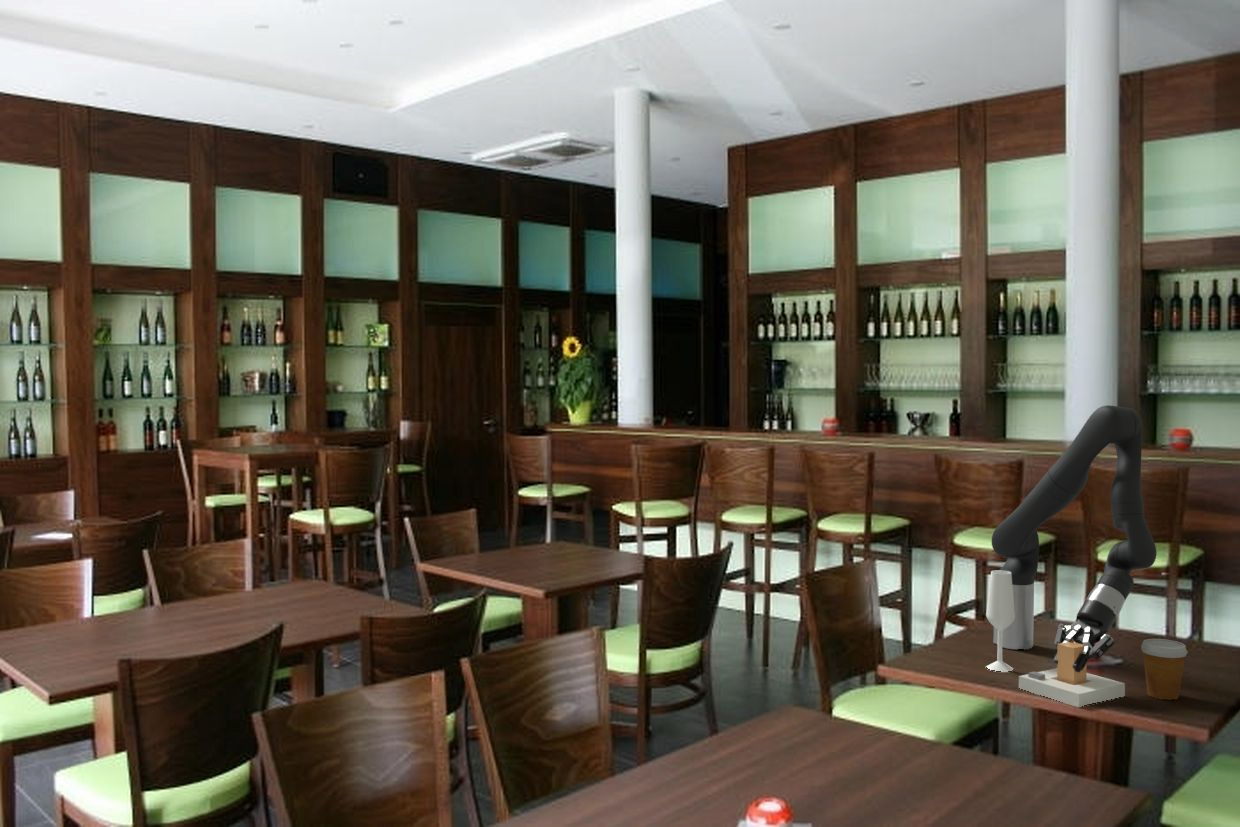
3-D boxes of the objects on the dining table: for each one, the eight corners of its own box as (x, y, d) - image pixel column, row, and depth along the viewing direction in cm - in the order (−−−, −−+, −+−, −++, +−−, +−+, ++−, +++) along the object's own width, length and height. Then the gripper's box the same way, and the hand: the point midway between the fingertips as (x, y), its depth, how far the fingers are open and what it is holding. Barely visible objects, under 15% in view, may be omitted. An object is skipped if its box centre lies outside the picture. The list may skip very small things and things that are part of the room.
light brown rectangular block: (1057, 682, 248) (1057, 643, 248) (1069, 679, 251) (1070, 641, 250) (1073, 687, 245) (1074, 648, 244) (1086, 684, 247) (1086, 645, 247)
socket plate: (1018, 688, 251) (1018, 671, 251) (1064, 678, 259) (1064, 662, 259) (1078, 707, 237) (1078, 689, 237) (1124, 696, 245) (1125, 679, 245)
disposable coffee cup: (1190, 704, 239) (1191, 650, 239) (1142, 699, 243) (1143, 646, 242) (1182, 691, 248) (1183, 640, 248) (1137, 688, 252) (1138, 636, 251)
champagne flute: (1016, 672, 264) (1018, 575, 263) (987, 671, 265) (989, 574, 264) (1011, 665, 271) (1012, 570, 270) (983, 664, 272) (984, 569, 271)
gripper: (1067, 593, 257) (1032, 650, 251) (1121, 604, 245) (1086, 664, 239) (1081, 612, 260) (1047, 669, 254) (1136, 624, 247) (1101, 684, 242)
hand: (1066, 667), depth 247 cm, fingers closed on light brown rectangular block, 4 cm apart
